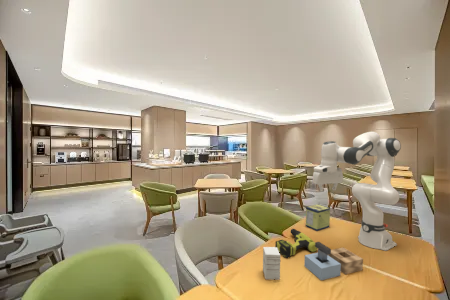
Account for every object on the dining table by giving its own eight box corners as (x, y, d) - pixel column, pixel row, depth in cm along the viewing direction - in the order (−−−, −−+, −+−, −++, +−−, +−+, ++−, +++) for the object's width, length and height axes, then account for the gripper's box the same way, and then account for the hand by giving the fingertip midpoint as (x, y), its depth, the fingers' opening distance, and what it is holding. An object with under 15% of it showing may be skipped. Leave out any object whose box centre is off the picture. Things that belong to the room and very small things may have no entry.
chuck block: (322, 262, 116) (322, 251, 116) (340, 275, 105) (340, 264, 104) (304, 266, 112) (304, 255, 112) (321, 280, 101) (321, 268, 101)
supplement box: (262, 270, 109) (263, 246, 108) (276, 270, 108) (277, 246, 108) (264, 279, 101) (265, 254, 100) (280, 280, 101) (280, 254, 100)
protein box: (329, 227, 162) (330, 207, 162) (316, 231, 155) (317, 210, 154) (317, 222, 171) (318, 203, 171) (305, 226, 164) (305, 206, 163)
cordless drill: (263, 238, 142) (295, 234, 150) (284, 259, 119) (320, 253, 126) (264, 228, 142) (295, 224, 149) (285, 248, 118) (321, 242, 126)
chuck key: (313, 266, 112) (314, 242, 111) (318, 265, 113) (319, 241, 112) (325, 276, 104) (326, 250, 103) (330, 274, 105) (331, 249, 104)
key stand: (343, 257, 121) (343, 247, 120) (362, 269, 109) (363, 258, 109) (326, 261, 117) (326, 250, 117) (344, 274, 106) (345, 262, 105)
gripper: (337, 166, 133) (336, 188, 133) (311, 168, 126) (310, 190, 127) (346, 168, 127) (345, 190, 127) (319, 169, 120) (318, 193, 121)
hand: (327, 190), depth 127 cm, fingers open, 8 cm apart
